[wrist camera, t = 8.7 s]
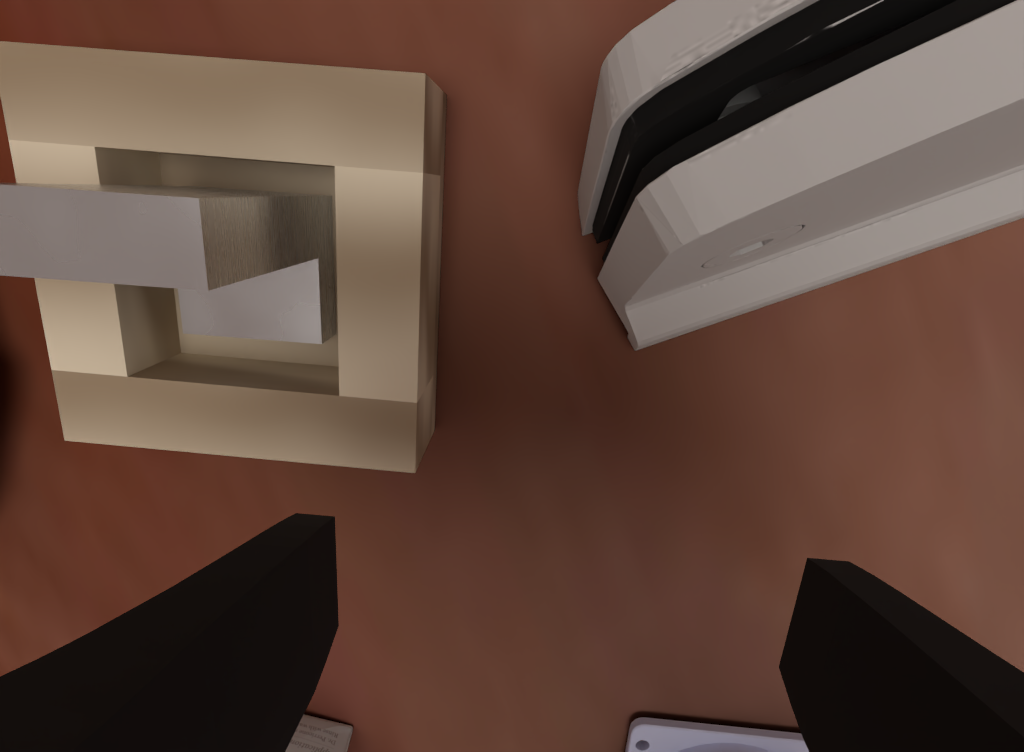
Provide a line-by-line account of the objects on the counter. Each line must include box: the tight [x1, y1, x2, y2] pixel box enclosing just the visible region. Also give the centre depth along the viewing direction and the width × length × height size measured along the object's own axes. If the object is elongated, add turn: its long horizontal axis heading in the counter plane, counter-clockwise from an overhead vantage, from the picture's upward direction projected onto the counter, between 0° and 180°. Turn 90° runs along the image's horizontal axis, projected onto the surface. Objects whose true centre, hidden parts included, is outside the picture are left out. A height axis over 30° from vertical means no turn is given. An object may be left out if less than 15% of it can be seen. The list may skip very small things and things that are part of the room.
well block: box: [0, 41, 447, 473], centre depth 16 cm, size 10×10×3 cm
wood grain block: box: [0, 183, 336, 344], centre depth 14 cm, size 4×4×6 cm
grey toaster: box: [578, 0, 1024, 351], centre depth 12 cm, size 17×5×10 cm, turn 111°
